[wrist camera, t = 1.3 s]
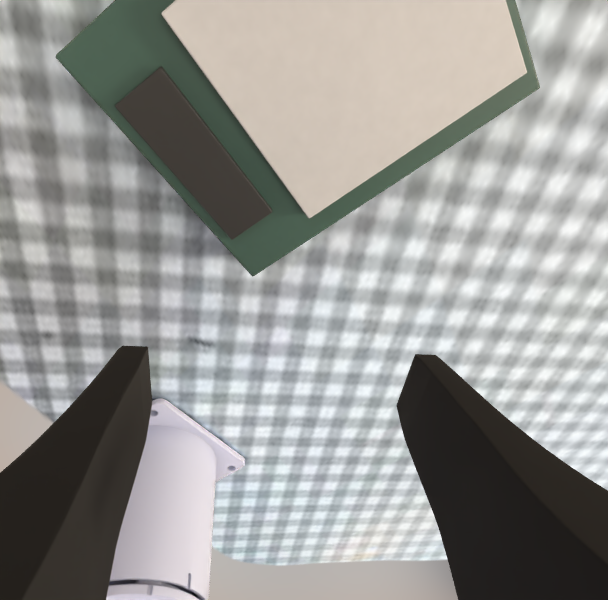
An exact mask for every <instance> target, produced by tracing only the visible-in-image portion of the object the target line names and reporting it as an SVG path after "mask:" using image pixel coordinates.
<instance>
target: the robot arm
mask: <svg viewBox="0 0 608 600" xmlns="http://www.w3.org/2000/svg"><path fill="white" fill-rule="evenodd" d="M397 409H398V413H399V418H400V422H401V426H402V430H403V434H404V438H405V441H406V444H407V446H408V449H409V452H410V454H411V457H412V459H413V462H414V465H415V467H416V470H417V472H418V475H419V477H420V480H421V482H422V485H423V488H424V490H425V493H426V495H427V498H428V500H429V503H430V505H431V508H432V511H433V513H434V516H435V519H436V522H437V525H438V527H439V530H440V534H441V537H442V541H443V544H444V548H445V551H446V555H447V558H448V562H449V565H450V569H451V573H452V577H453V581H454V585H455V589H456V593H457V596H458V600H608V491H607V490H606V489H604V488H602V487H601V486H599V485H598V484H596V483H594V482H593V481H591V480H590V479H588V478H587V477H585V476H584V475H582V474H581V473H579V472H578V471H576V470H575V469H573V468H572V467H570V466H569V465H567V464H566V463H564V462H563V461H562V460H560V459H559V458H557V457H556V456H555V455H553V454H552V453H550V452H549V451H548V450H546V449H545V448H544V447H542V446H541V445H540V444H538V443H537V442H536V441H534V440H533V439H532V438H531V437H529V436H528V435H527V434H526V433H524V432H523V431H522V430H521V429H519V428H518V427H517V426H516V425H514V424H513V423H512V422H511V421H510V420H508V419H507V418H506V417H505V416H504V415H502V414H501V413H500V412H499V411H498V410H497V409H496V408H494V407H493V406H492V405H491V404H490V403H489V402H488V401H486V400H485V399H484V398H483V397H482V396H481V395H480V394H479V393H478V392H476V391H475V390H474V389H473V388H472V387H471V386H470V385H469V384H468V383H467V382H465V381H464V380H463V379H462V378H461V377H460V376H459V375H458V374H457V373H456V372H454V371H453V370H452V369H451V368H450V367H449V366H448V365H447V364H446V363H444V362H443V361H442V360H441V359H440V358H439V357H437V356H436V355H420V354H415V357H414V359H413V362H412V365H411V367H410V370H409V373H408V376H407V378H406V381H405V384H404V387H403V389H402V392H401V395H400V397H399V400H398V403H397ZM152 410H155V411H152ZM244 465H245V459H244V457H242V456H241V455H240V454H238V453H237V452H236V451H234V450H233V449H232V448H230V447H229V446H228V445H226V444H225V443H224V442H222V441H221V440H219V439H218V438H217V437H215V436H214V435H213V434H211V433H210V432H209V431H207V430H206V429H205V428H203V427H202V426H201V425H199V424H198V423H197V422H195V421H194V420H192V419H191V418H190V417H188V416H187V415H186V414H184V413H183V412H182V411H180V410H179V409H178V408H176V407H175V406H174V405H172V404H171V403H170V402H168V401H167V400H165V399H156V400H154V401H152V395H151V381H150V368H149V355H148V347H142V346H122V347H120V348H119V349H118V350H117V351H116V353H115V354H114V355H113V357H112V358H111V359H110V360H109V362H108V363H107V364H106V365H105V367H104V368H103V369H102V370H101V372H100V373H99V374H98V375H97V376H96V378H95V379H94V380H93V381H92V382H91V383H90V385H89V386H88V387H87V388H86V389H85V390H84V391H83V392H82V394H81V395H80V396H79V397H78V398H77V399H76V400H75V401H74V402H73V404H72V405H71V406H70V407H69V408H68V409H67V410H66V411H65V412H64V413H63V414H62V415H61V416H60V417H59V418H58V419H57V420H56V421H55V422H54V423H53V424H52V425H51V426H50V427H49V429H47V430H46V431H45V432H44V433H43V435H41V437H39V439H37V440H36V441H35V442H34V443H33V444H32V445H31V446H30V447H29V448H28V449H27V450H26V451H25V452H23V453H22V454H21V455H20V456H19V457H18V458H17V459H16V460H15V461H13V462H12V463H11V464H10V465H9V466H8V467H6V468H5V469H4V470H3V471H2V472H1V473H0V600H209V585H210V568H211V550H212V549H211V548H212V532H213V515H214V497H215V482H217V481H218V480H220V479H222V478H224V477H226V476H228V475H230V474H232V473H233V472H235V471H237V470H239V469H241V468H242V467H244Z"/></svg>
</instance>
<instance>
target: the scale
mask: <svg viewBox="0 0 608 600" xmlns="http://www.w3.org/2000/svg"><path fill="white" fill-rule="evenodd" d="M56 58H57V59H58V60H59V62H60V63H61V64H62V65H63V66H64V67H65V68H66V69H67V70H68V72H69V73H70V74H71V75H72V76H73V77H74V78H75V79H76V80H77V82H78V83H79V84H80V85H81V86H82V87H83V88H84V89H85V91H86V92H87V93H88V94H89V95H90V96H91V97H92V98H93V99H94V101H95V102H96V103H97V104H98V105H99V106H100V107H101V108H102V109H103V111H104V112H105V113H106V114H107V115H108V116H109V117H110V118H111V119H112V121H113V122H114V123H115V124H116V125H117V126H118V127H119V128H120V130H121V131H122V132H123V133H124V134H125V135H126V136H127V137H128V138H129V140H130V141H131V142H132V143H133V144H134V145H135V146H136V147H137V148H138V150H139V151H140V152H141V153H142V154H143V155H144V156H145V157H146V158H147V160H148V161H149V162H150V163H151V164H152V165H153V166H154V167H155V169H156V170H157V171H158V172H159V173H160V174H161V175H162V176H163V177H164V179H165V180H166V181H167V182H168V183H169V184H170V185H171V186H172V187H173V189H174V190H175V191H176V192H177V193H178V194H179V195H180V196H181V197H182V199H183V200H184V201H185V202H186V203H187V204H188V205H189V206H190V208H191V209H192V210H193V211H194V212H195V213H196V214H197V215H198V216H199V218H200V219H201V220H202V221H203V222H204V223H205V224H206V225H207V226H208V228H209V229H210V230H211V231H212V232H213V233H214V234H215V235H216V236H217V238H218V239H219V240H220V241H221V242H222V243H223V244H224V245H225V247H226V248H227V249H228V250H229V251H230V252H231V253H232V254H233V255H234V257H235V258H236V259H237V260H238V261H239V262H240V263H241V264H242V265H243V267H244V268H245V269H246V270H247V271H248V272H249V273H250V274H251V275H252V276H254V275H256V274H258V273H259V272H261V271H262V270H264V269H265V268H267V267H268V266H270V265H271V264H273V263H274V262H276V261H277V260H279V259H280V258H282V257H283V256H285V255H286V254H288V253H290V252H291V251H293V250H294V249H296V248H297V247H299V246H300V245H302V244H303V243H305V242H306V241H308V240H309V239H311V238H312V237H314V236H315V235H317V234H318V233H320V232H321V231H323V230H325V229H326V228H328V227H329V226H331V225H332V224H334V223H335V222H337V221H338V220H340V219H341V218H343V217H344V216H346V215H347V214H349V213H350V212H352V211H353V210H355V209H357V208H358V207H360V206H361V205H363V204H364V203H366V202H367V201H369V200H370V199H372V198H373V197H375V196H376V195H378V194H379V193H381V192H382V191H384V190H385V189H387V188H388V187H390V186H392V185H393V184H395V183H396V182H398V181H399V180H401V179H402V178H404V177H405V176H407V175H408V174H410V173H411V172H413V171H414V170H416V169H417V168H419V167H420V166H422V165H423V164H425V163H427V162H428V161H430V160H431V159H433V158H434V157H436V156H437V155H439V154H440V153H442V152H443V151H445V150H446V149H448V148H449V147H451V146H452V145H454V144H455V143H457V142H459V141H460V140H462V139H463V138H465V137H466V136H468V135H469V134H471V133H472V132H474V131H475V130H477V129H478V128H480V127H481V126H483V125H484V124H486V123H487V122H489V121H490V120H492V119H494V118H495V117H497V116H498V115H500V114H501V113H503V112H504V111H506V110H507V109H509V108H510V107H512V106H513V105H515V104H516V103H518V102H519V101H521V100H522V99H524V98H526V97H527V96H529V95H530V94H532V93H533V92H535V91H536V90H538V89H539V88H540V85H539V82H538V78H537V75H536V71H535V68H534V64H533V61H532V57H531V54H530V50H529V47H528V44H527V40H526V37H525V33H524V30H523V26H522V23H521V19H520V16H519V12H518V9H517V5H516V2H515V0H115V1H114V2H113V3H112V4H111V5H110V6H109V7H107V8H106V9H105V10H104V11H103V12H102V13H101V14H100V15H99V16H98V17H97V18H96V19H94V20H93V21H92V22H91V23H90V24H89V25H88V26H87V27H86V28H85V29H84V30H83V31H82V32H80V33H79V34H78V35H77V36H76V37H75V38H74V39H73V40H72V41H71V42H70V43H69V44H67V45H66V46H65V47H64V48H63V49H62V50H61V51H60V52H59V53H58V54H57V55H56Z"/></svg>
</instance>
